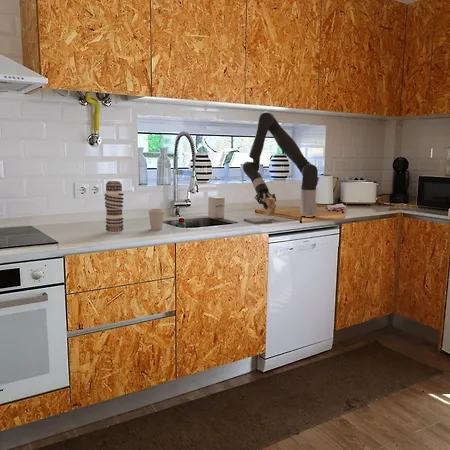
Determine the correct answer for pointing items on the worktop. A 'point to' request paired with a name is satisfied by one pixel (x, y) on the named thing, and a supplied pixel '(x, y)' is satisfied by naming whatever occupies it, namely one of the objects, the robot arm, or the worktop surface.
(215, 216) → the supplement box
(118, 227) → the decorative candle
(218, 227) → the worktop surface
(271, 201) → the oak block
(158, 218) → the dixie cup
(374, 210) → the worktop surface
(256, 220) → the plate
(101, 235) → the worktop surface
